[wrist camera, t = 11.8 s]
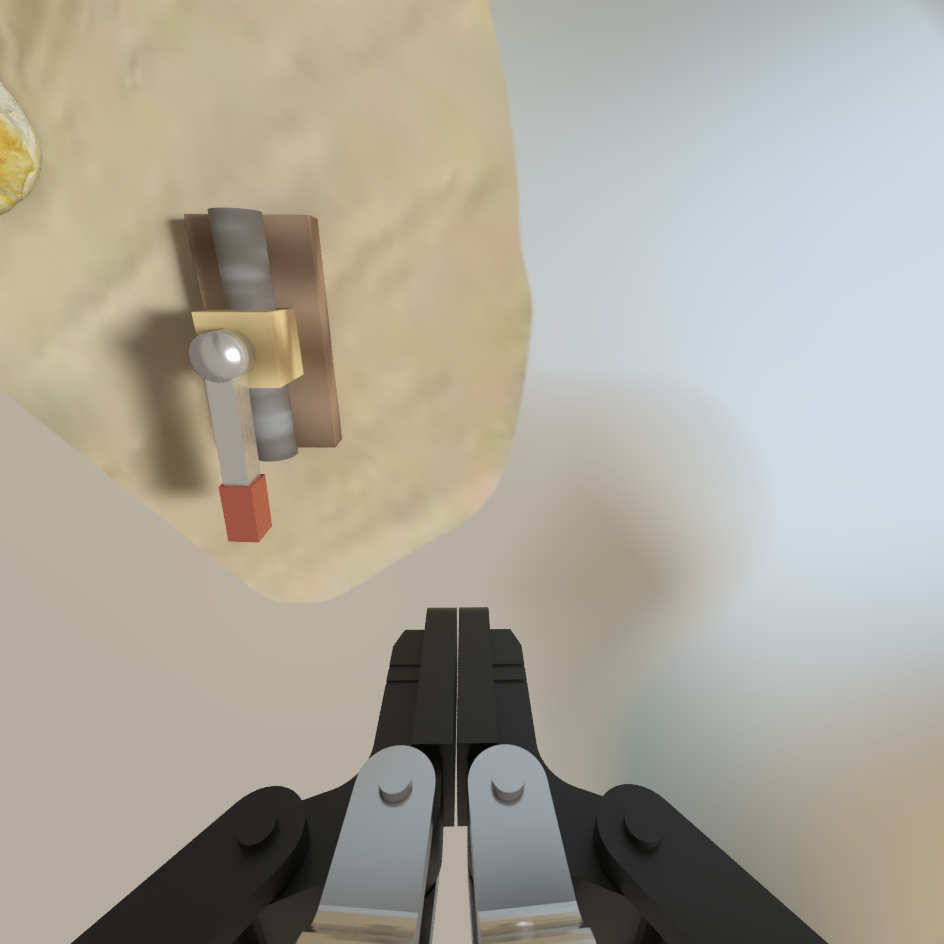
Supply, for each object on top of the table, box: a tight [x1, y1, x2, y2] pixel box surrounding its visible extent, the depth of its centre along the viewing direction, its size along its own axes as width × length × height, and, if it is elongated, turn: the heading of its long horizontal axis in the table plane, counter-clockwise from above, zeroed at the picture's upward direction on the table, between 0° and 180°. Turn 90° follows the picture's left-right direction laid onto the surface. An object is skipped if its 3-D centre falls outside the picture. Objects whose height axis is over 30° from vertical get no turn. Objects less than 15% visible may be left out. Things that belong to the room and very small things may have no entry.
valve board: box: [184, 208, 342, 461], centre depth 31 cm, size 16×8×7 cm, turn 0°
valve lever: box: [189, 329, 272, 542], centre depth 29 cm, size 13×3×2 cm, turn 177°
